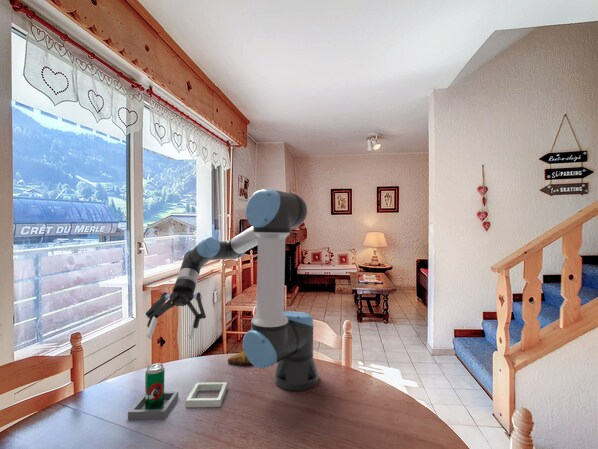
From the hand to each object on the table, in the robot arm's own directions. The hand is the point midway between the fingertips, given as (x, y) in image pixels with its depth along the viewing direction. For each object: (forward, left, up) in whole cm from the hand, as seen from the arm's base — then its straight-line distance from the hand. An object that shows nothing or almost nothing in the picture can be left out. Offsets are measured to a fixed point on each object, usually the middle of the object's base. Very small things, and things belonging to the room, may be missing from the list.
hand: (169, 337), depth 97 cm
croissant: (-22, -18, -17) cm, 33 cm away
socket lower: (-14, +6, -17) cm, 23 cm away
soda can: (0, +11, -17) cm, 20 cm away
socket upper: (0, +11, -17) cm, 20 cm away
